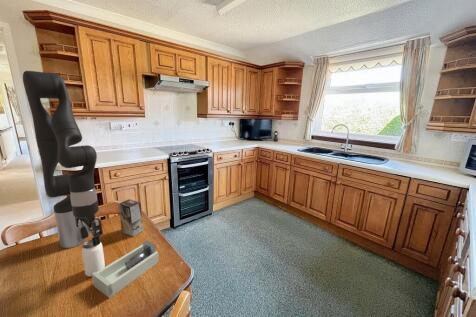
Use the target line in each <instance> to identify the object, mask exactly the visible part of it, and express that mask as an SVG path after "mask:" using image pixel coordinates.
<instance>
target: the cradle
mask: <svg viewBox="0 0 476 317" xmlns="http://www.w3.org/2000/svg"><path fill="white" fill-rule="evenodd" d="M141 251H143V244H141V245H140V246H137V247H136V248H135V249H132V250H131V251H129V252H128V253H126V254H125V255H123V256H121V257H119V258H118V259H116V260H115V261H113V262H111V263H110V264H108V265H105V267H104V268H103V269H101V270H99V271H98V272H96V271H95V272H94V273H92V276H91V278H92V283H93V286H94V287H95V289H97V290H99V292H101V293H103V295H105V296H106V297H107V298H108V299H110V298H112V297H114V296H115V295H116V294H117V293H119V292H120V291H122V290H123V289H124V288H125V287H127V286H129V285H130V284H131V283H132V282H133V281H135V280H136V279H138V278H139V277H141V275H143V274H144V273H146V272H147V271H149V270H150V269H151V268H153V267H155V265H157V264H159V262H160V261H159V260H160V258H159V252H158V251H155V253H153V254H152V255H150V256H149V257H147V258H146V259H144V260H143V261H141V262H140V263H138V264H137V265H135V266H134V267H132V268H131V269H129V270H127V268H126V266H125V262H126V261H127V260H129V259H130V258H132V257H133V256H135V255H137V254H138V253H140V252H141Z"/></svg>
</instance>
